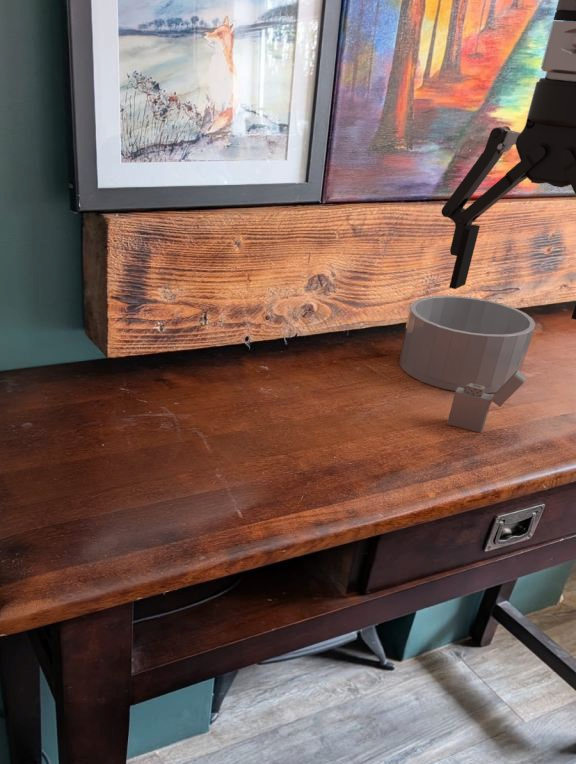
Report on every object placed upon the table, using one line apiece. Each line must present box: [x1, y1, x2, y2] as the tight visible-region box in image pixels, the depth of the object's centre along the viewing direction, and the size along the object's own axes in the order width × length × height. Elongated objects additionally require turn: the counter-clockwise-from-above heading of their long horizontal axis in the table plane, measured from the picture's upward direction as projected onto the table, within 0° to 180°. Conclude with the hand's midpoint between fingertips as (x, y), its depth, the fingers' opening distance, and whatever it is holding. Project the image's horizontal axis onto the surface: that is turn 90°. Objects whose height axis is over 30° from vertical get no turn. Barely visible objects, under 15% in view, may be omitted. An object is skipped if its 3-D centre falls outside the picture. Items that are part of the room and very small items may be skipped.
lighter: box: [446, 370, 528, 433], centre depth 88 cm, size 7×2×8 cm, turn 61°
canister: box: [398, 295, 536, 394], centre depth 104 cm, size 16×16×8 cm
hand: (515, 301), depth 82 cm, fingers open, 13 cm apart
